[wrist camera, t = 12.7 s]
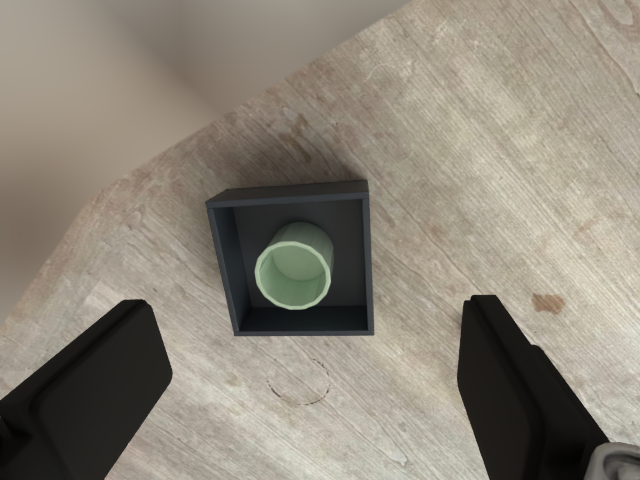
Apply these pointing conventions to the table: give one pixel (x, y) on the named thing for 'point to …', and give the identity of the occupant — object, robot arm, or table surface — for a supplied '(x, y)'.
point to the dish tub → (257, 230)
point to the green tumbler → (296, 266)
